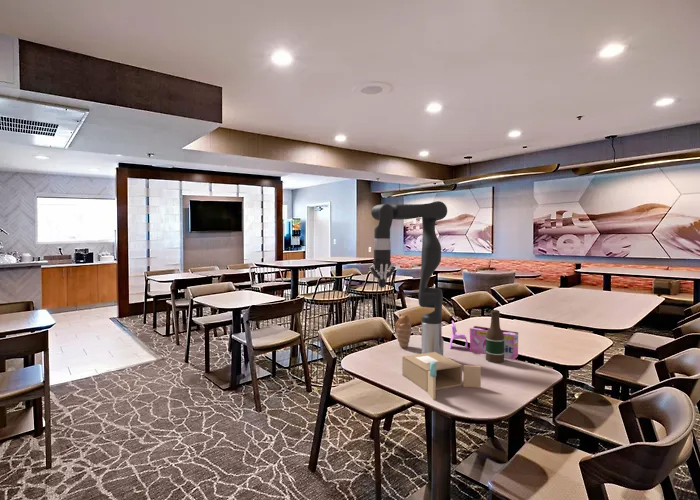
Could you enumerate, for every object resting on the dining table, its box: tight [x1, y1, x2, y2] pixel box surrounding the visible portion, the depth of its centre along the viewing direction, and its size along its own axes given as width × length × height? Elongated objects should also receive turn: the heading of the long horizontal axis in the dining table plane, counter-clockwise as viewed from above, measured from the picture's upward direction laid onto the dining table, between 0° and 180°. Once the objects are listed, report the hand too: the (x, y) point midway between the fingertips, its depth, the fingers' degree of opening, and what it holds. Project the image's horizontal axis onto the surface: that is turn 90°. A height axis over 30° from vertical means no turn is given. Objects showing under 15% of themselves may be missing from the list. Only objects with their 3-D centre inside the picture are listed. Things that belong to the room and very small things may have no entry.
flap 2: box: [462, 364, 482, 389], centre depth 142 cm, size 6×1×8 cm, turn 81°
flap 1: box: [427, 362, 437, 401], centre depth 133 cm, size 6×2×12 cm, turn 6°
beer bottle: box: [485, 309, 505, 364], centre depth 170 cm, size 8×8×24 cm
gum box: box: [468, 325, 519, 361], centre depth 180 cm, size 22×7×13 cm, turn 50°
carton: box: [401, 352, 463, 393], centre depth 148 cm, size 16×18×8 cm
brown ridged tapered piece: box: [395, 313, 412, 349], centre depth 192 cm, size 9×8×18 cm
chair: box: [449, 320, 469, 350], centre depth 190 cm, size 8×9×15 cm
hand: (382, 287), depth 166 cm, fingers closed
